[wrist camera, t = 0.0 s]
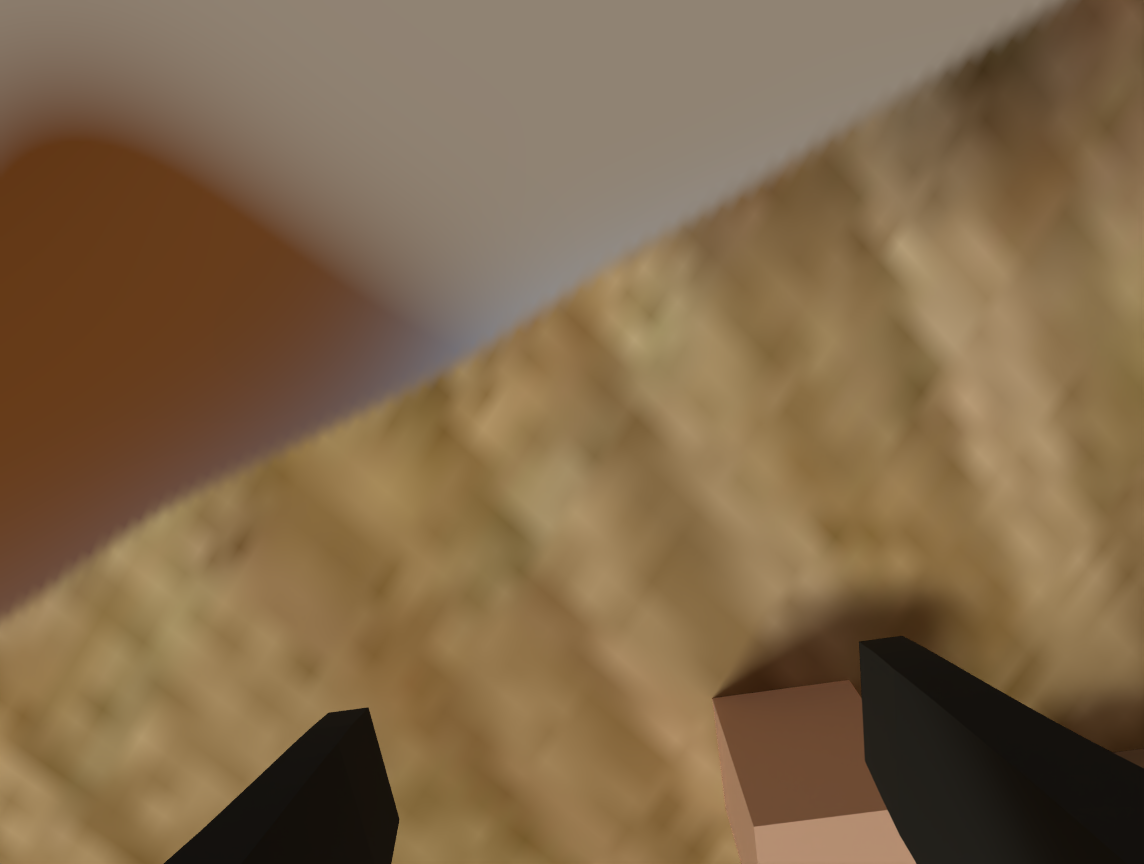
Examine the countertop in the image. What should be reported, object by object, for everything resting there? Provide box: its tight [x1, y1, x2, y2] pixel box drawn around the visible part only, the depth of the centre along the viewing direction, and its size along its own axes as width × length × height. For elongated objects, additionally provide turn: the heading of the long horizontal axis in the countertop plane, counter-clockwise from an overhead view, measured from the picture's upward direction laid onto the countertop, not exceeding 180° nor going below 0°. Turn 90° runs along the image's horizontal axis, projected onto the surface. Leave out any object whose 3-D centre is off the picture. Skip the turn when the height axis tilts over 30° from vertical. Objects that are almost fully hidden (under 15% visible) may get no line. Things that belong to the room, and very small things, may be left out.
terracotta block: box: [712, 680, 916, 864], centre depth 19 cm, size 4×4×5 cm
